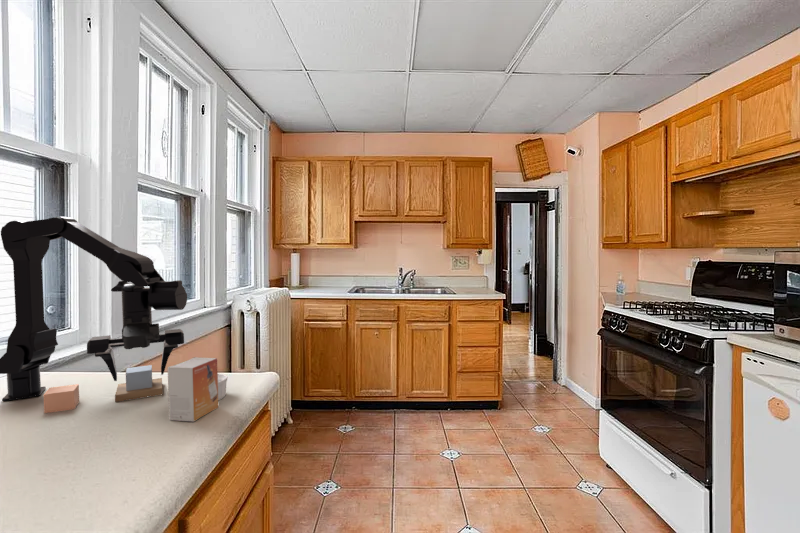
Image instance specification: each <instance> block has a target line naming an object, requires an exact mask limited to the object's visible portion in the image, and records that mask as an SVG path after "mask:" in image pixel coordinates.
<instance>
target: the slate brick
mask: <svg viewBox="0 0 800 533" xmlns="http://www.w3.org/2000/svg"><path fill="white" fill-rule="evenodd" d="M152 367H153V365H152V364H149V365H140V366H134V367H127V368H126V370H125V383H126V391H130V390H137V389H144V388H151V387H152V379H153V368H152Z"/></svg>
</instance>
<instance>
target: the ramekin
mask: <svg viewBox="0 0 800 533" xmlns="http://www.w3.org/2000/svg"><path fill="white" fill-rule="evenodd" d="M227 382H228V375H227V374H224V373H218V401H220V400H222V399H224V398H225V397H226V394H227Z"/></svg>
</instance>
